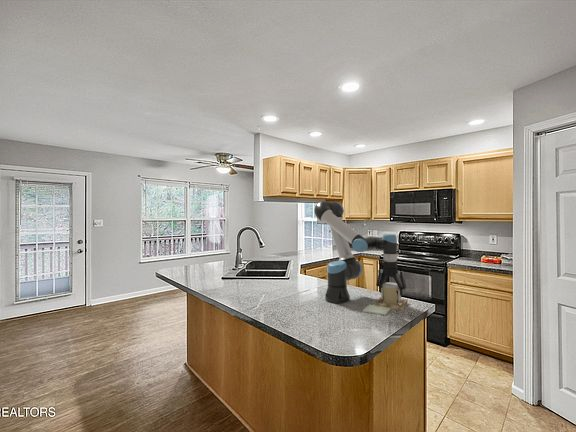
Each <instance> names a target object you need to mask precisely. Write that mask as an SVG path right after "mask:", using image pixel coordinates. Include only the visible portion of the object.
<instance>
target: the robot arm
mask: <svg viewBox="0 0 576 432" xmlns="http://www.w3.org/2000/svg"><path fill="white" fill-rule="evenodd" d="M313 211H314V216H315V217H316V218H317V219H318V220H319V221H321V222H322V223H325V224H327V226H329V228H330V231H331V235H332V237H333V241H334V245H335V247H336V251H337V254H338V257H339V259H338V260H334V261H331V262H329V263H328V264H327V269H326V271H327V272H326V273H327V289H326V292H325V294H324V295H325V300H324V301H326V302H328V303H332V304H333V303H334V304H344V303H348V302H350V301H351V296H350V294H349V290H348V285H347V282H348V281H351V280H355V279H357V278H359V277H360V276H361V275H362V273H363V266H362V264H361V262H360V261H359V260H357V258H356V256H355V255H353V254H352V250H351V247H352V249H353V250H354V251H355V252H357V253H363V252H364V253H365V252H370V251H373V250H375V251H376V250H378V251H383V252H382V253H383V254H382V255H383V256H382V257H383V258H382V259H383V262H382V263H383V269H380V268H379V269H378V270H377V272H378V273H377V279H376V286H377V287H378V288H379V293H380V294H381V296H380V297H381V299H383V298H384V296H383V286H382V285H383V283H386V281H387V278H393V279H394V280H395V283H397V285H398V287H399V290H398V301H401V299H402V296H403V293H404V292H403V290H405V289H406V288H407V285H406V282H405V278H404V271H403V270H401V271H400V270H398V250H397V249H398V247H397V246H398V244H397V243H398V240H397V235H396V234H394V233H385V234H382V237H381V236H380V237H377V236H366V237H364V236H363V235H361V234H360V233H359V232H358V231H356V230H355V229H354V228H352V227H351V226H350V225H348V224H347V223H346V222H344V221H343V219H344V217H343V215H344V213H345V212H344V211H345V210H344V207H343V205H342V204H341V203H340V202H338V201H328V200H327V201H326V200H325V201H319V202H317V204H316V205H315V207H314V209H313ZM349 243H350V244H351V247H350V244H349ZM383 273H384V276H383V278H382V274H383ZM398 275H399V277H400V280H399V278H398ZM381 279H382V280H381Z"/></svg>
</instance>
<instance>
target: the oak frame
mask: <svg viewBox="0 0 576 432" xmlns="http://www.w3.org/2000/svg"><path fill="white" fill-rule="evenodd" d="M382 302H383V303H382ZM400 303H401V304H400ZM398 304H400V305H398V306H397V305H390V304H384V298H383V299H381V296H380V297H379V298H377V300H375V301H374V304H373V305H377V306H384V307H390V308H391V310H396V311H397V310H399V311H403V310H404V309H405V307H406V306H407V305H406V304H408V299H403V298H401V301H398Z"/></svg>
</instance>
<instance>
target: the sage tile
mask: <svg viewBox="0 0 576 432" xmlns="http://www.w3.org/2000/svg"><path fill="white" fill-rule="evenodd" d="M391 310H392V309H391V308H390V307H384V306H377V305H374V304H371V303H370V304H369V305H367V306H366V307H365V308H364V309H363V310H362V312H363V313H369V314H375V315H380V316H387V314H388V313H389V312H390V311H391Z"/></svg>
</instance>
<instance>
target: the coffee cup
mask: <svg viewBox="0 0 576 432" xmlns="http://www.w3.org/2000/svg"><path fill="white" fill-rule="evenodd" d="M382 287H383V296H384V300H383V304H390V305H397V306H399V302H398V290H399V287H398V285H397V283H396V282H386V281H385V282H384V283H383V285H382Z"/></svg>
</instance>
